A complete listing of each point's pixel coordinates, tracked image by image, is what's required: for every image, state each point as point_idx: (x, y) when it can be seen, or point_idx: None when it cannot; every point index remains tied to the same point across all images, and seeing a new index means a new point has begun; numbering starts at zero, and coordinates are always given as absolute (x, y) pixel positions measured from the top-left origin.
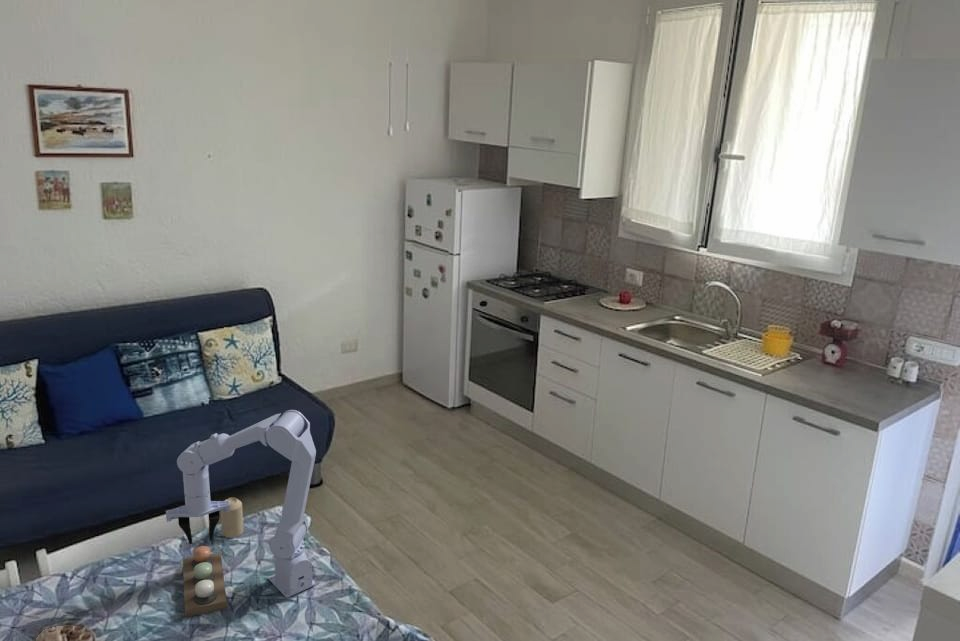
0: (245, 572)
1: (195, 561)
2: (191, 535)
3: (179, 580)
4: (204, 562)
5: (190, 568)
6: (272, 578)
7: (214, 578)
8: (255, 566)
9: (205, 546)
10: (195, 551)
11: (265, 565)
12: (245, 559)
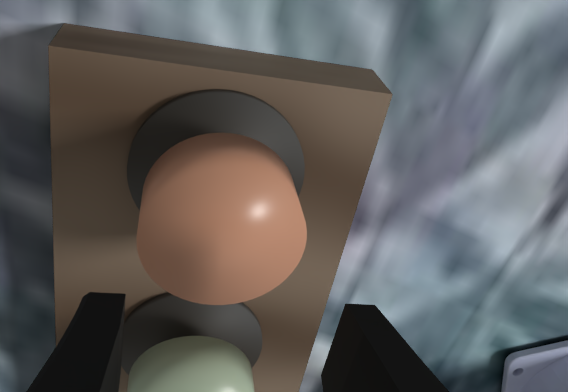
0: (440, 269)
1: (162, 153)
2: (113, 374)
3: (33, 194)
4: (214, 386)
5: (113, 210)
6: (520, 375)
7: (254, 362)
8: (513, 240)
9: (276, 194)
10: (163, 234)
11: (560, 252)
12: (506, 152)
